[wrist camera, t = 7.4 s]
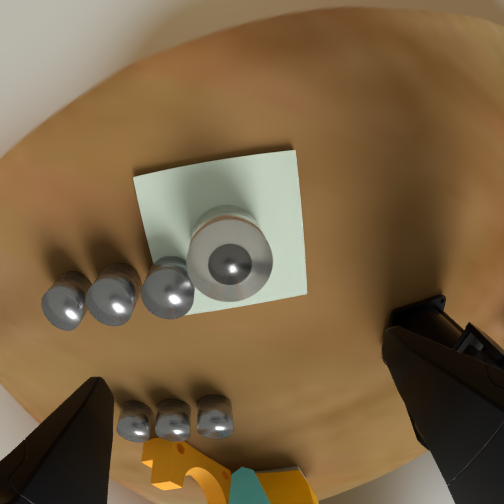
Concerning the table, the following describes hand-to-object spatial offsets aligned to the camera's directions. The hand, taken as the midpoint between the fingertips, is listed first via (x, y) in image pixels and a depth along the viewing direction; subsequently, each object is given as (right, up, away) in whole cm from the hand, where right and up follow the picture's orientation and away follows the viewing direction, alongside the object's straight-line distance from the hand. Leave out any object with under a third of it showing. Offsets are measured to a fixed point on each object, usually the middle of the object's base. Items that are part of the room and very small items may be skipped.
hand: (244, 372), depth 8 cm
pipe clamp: (-7, -22, +21) cm, 31 cm away
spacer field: (-8, -5, +14) cm, 17 cm away
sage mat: (-1, +4, +11) cm, 12 cm away
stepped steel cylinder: (-1, +4, +10) cm, 11 cm away
